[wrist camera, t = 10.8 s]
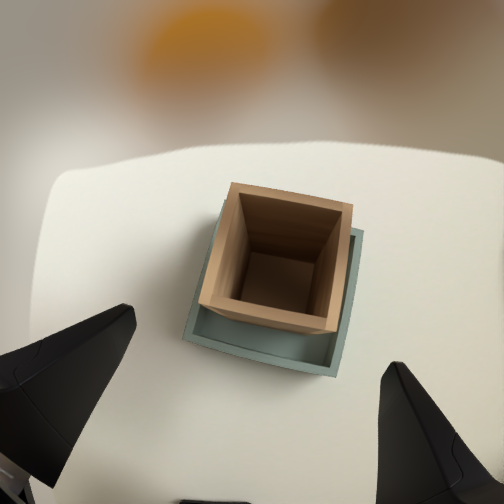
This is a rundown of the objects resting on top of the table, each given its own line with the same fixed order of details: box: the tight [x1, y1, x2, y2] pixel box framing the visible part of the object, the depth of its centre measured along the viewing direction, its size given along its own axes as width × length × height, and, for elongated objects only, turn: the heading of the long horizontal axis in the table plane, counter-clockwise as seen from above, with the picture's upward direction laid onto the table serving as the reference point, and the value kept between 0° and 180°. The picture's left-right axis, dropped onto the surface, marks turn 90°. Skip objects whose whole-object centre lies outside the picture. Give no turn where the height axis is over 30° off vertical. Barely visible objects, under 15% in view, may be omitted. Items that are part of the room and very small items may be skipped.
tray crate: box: [182, 200, 364, 378], centre depth 21 cm, size 11×11×3 cm
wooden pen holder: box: [198, 182, 353, 336], centre depth 17 cm, size 6×6×10 cm
